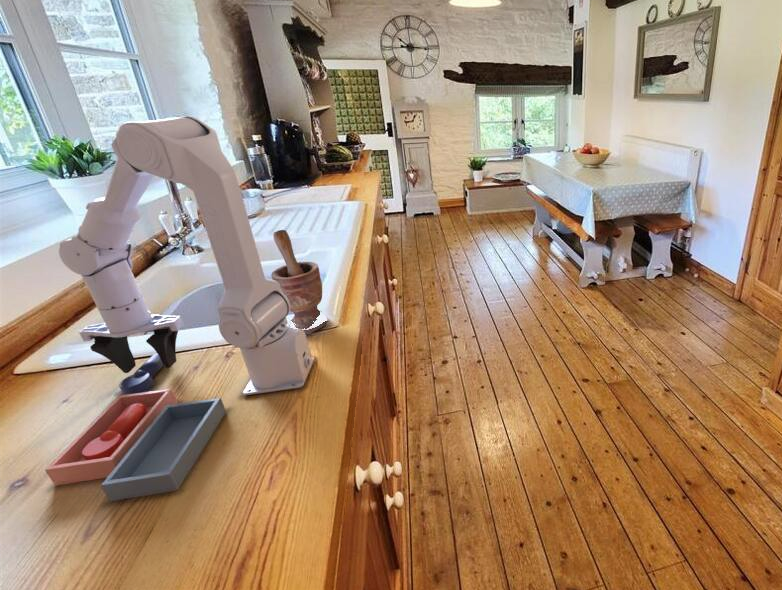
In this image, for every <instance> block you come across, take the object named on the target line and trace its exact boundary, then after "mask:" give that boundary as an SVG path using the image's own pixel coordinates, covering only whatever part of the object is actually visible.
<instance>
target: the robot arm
mask: <svg viewBox="0 0 782 590" xmlns="http://www.w3.org/2000/svg"><path fill="white" fill-rule="evenodd" d="M218 137H219V136H218V134H217V131H216V130H215V129H214V128H212V127H211V126H209V125H208V124H206V123H204V122H203V121H201V120H200V119H199V118H197V117H195V116H190V115H182V116H181V115H180V116H178V117H174V118H165V119H164V118H162V119H156V120H154V119H153V120H145V121H135V120H134V121H126V122H124V123H122V124H121V125H119V127H118V128H117V130H116V133H115V138H114V140H113V141H112V142H111V144H110V146H111V148H112V150H113V152H114V154H115V156H116V160H115V164H114V167H113V171H112V174H111V177H110V180H109V183H108V186H107V190H106V193H105V196H103V197H99V198H96V199H94V200H93V201H90V202H88V203H87V204H86V206H85V209H86V210H87V211H86V213H85V216H84V218H83V220H82V223H81V225H79V227H78V232H77V234H76V235H74V236H72V238H69V239H66V240H63V241H61V242H60V243H59V248H58V254H59V258H60V261H61V262H62V263H63V264H64V266H66V268H67V269H69V270H70V271H72V272H73V273H75V274H76V275H80V276H81V277H82V281H83V282H84V283H85V286H86V288H87V290H88V292H89V294H90V297H91V298H92V300H93V302H94V304H95V306H96V308H97V310H98V312H99V314H100V316H101V318H102V320H103V322H101V323H97V324H90V325H87V326H85V327H84V328H83V329H81V330H80V331H79V332H78V333H79V335H80V337H81V339H82V341H83V342H90V341H92V340H94V341H93V342H94V343H93V344H91V345H90V350H91V352H94V353H96V354H98V355H101V356H103V357H104V358H106V359H108V360H109V361H110V362H111V363H113V364H114V365H115V366H116V367H117V368H118V369H119V370H121V371H122V373H124V374H129V373H130V372H131V371H132V370H133V369H134V368H136V366H137V364H136V360H135V357H134V355H133V353H132V350H131V348H130V344H129V340H128V339H129V338H128V337H129V336H133V335H137V334H145V333H152V332H153V334H151V335H150V336H149V337H148V338H147V339H146V340H145V341H146V343H147V344H148V345H150V346H151V348H152V349H154V351H155V353H158V355H159V357H160V359H161V361H162V363H163V365H164V366H163V367H165V368H166V369H169V368H171V367H173V366H174V364H175V363H177V351H176V347H177V346H176V343H177V338H178V333H179V330H180V329H181V328H182V327H183V326H184V321H183V319H182V317H181V315H162V314H152V311H150V310H149V307H148V305H147V303H146V301H145V298H144V296H143V294H142V291H141V289H140V287H139V284H138V282H137V280H136V278H135V276H134V273H133V271H132V270H133V269H134V263H133V261H132V256H133V253H134V250H133V245H132V243H130V242H129V241H130V239H131V237H132V236H133V233H134V232H135V229H136V227H137V225H138V224H139V222H140V219H141V212H140V209H139V208H138V207H137V205H138V203H139V202H140V200H141V199H142V197H143V195H144V193H145V192H146V191H147V189H148V187H149V186H150V184H151V183H152V181H153V179H154V178H155V176H156V177H158V178H161V179H164V180H167V181H170V182H173V183H174V184H175V183H176V184H181V185H182V186H184V187H186V188H188V189H190V190H191V191H192V192H193V194H194V198H195V201H196V204H197V207H198V210H199V214H200V216H201V219H202V222H203V226H204V228H205V231H206V235H207V239H208V241H209V243H210V247H211V250H212V252H213V253H212V254H213V256H214V260H215V262H216V265H217V268H218V271H219V275H220V277H221V280H222V284H223V286H224V292H223V293H222V297H221V299H220V302H219V304H218V306H217V311H218V314H219V321H218V322H219V323H218V330H219V333H220V335H221V337H222V338H223V339H224V341H225V342H226V343H228V344H229V345H231V346H233V347H234V348H238V349H239V350H240V353H241V356H242V359H243V361H244V364H245V367H246V370H247V372H248V376H249V378H250V379H249V381H248V383H247V384H246V386H245V388H244V389H243V391H242V395H243V396H248V395H257V394H263V393H264V394H265V393H271V392H279V391H287V390H295V389H300V388H303V387H304V385H305V383H306V381H307V378H308V375H309V373H310V371H311V369H312V366H313V363H314V361H315V357H314V356H312V352H311V349H310V344H309V341H308V337H307V334H305V332H304V331H303V330H302V329H293V328H290V326H289V327H288V326H287V325H288V320H287V317H288V316H289V314H290V313H291V311H290V309H291V306H290V302H289V300H288V298H287V297H286V296H285V294H284V293H283V292H282V290H281V287H280V284H279V282H277V281H275V280H273V279H272V278H267V277H265V274H264V270H263V266H262V262H261V258H260V255H259V252H258V248H257V245H256V241H255V238H254V234H253V230H252V226H251V223H250V219H249V216H248V213H247V208H246V206H245V202H244V198H243V195H242V192H241V191H242V190H241V187H240V183H239V180H238V176H237V174H236V171H235V169H234V167H233V165H232V164H231V163H230V161H229V160H228V158H227V157H226V155H225V154H224V152H223V150H222V147H221V143H220V140H219V138H218Z"/></svg>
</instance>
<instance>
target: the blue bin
mask: <svg viewBox="0 0 782 590" xmlns="http://www.w3.org/2000/svg"><path fill="white" fill-rule="evenodd" d="M226 413H227V411H226V408H225V405H224V403H223V400H222V398H221V397H216V398H207V399H202V400H193V401H187V402H178V403H177V404H172V405H166V406H165V407H164V409H163V410H162V411H161V412H160V414H159V415H158V416H157V417H156V419H155V420H154V421H153V422H152V423H151V425H150V426H149V427H148V428H147V430H146V431H145V432H144V433H143V434H142V436H141V437H140V438H139V439H138V441H137V442H136V443H135V444H134V445H133V447H132V448H131V449H130V450H129V451H128V453H127V454H126V455H125V456H124V458H123V459H122V460H121V461H120V462H119V464H118V465H117V466H116V467H115V469H114V470H113V471H112V472H111V473H110V475H109V476H108V477H107V478H105V479H104V481H103V482H102V483H101V484H100V487H101V489H102V491H103V492H104V493H105V495H106V497H107V499H108V500H109V502H114V501H115V502H116V501H121V500H127V499H134V498H140V497H146V496H151V495H157V494H163V493H164V494H165V493H170V492H176V491H178V490H179V489H180V488H181V486H182V484H183V482H184V481H185V479H186V477H187V476H188V474H189V473H190V471H191V469H192V468H193V466H194V465H195V463H196V461H197V460H198V458H199V456H200V455H201V453H202V452H203V450H204V449H205V447H206V445H207V444H208V442H209V440H210V439H211V438H212V436H213V434H214V432H215V431H216V429H217V427H218V426H219V424H220V423H221V421H222V419H223V418H224V416H225V415H226Z"/></svg>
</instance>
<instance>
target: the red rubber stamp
mask: <svg viewBox="0 0 782 590" xmlns="http://www.w3.org/2000/svg"><path fill="white" fill-rule="evenodd" d="M145 414H146V407H145V405H143V404H141V403H135V404H132V405H130V406H128V407H127V408H126V409H125V410H124V411H123V413H122V414H121V415H120V416H119V417H118V418H117V419H116V420H115V421H114V422H113V423H112V424H111V425H110V427H109V428H108V429H107V430H106V431H105V432H104V433H103V434H102V435H101V436H100V437H98V438H96V439H94V440H93V441H91V442H90V443H89V444H87V445H86V446H85V447H84V449H83V451H82V455H83V456H84V458H85V459H86V461H87V460H94V459H100V458H107V457H110V456H111V455H112V454H113V453H114V452H115V451H116V449H117V448H118V447H119V446H120V445H121V444H122V442H123V441H124V439H125V438H126V436H127V435H128V434H129V433H130V432H131V431H132V429H133V428H134V427H135V426H136V425H137V424H138V422H139V421H140V420H141V419H142V418H143V417H144V415H145Z"/></svg>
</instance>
